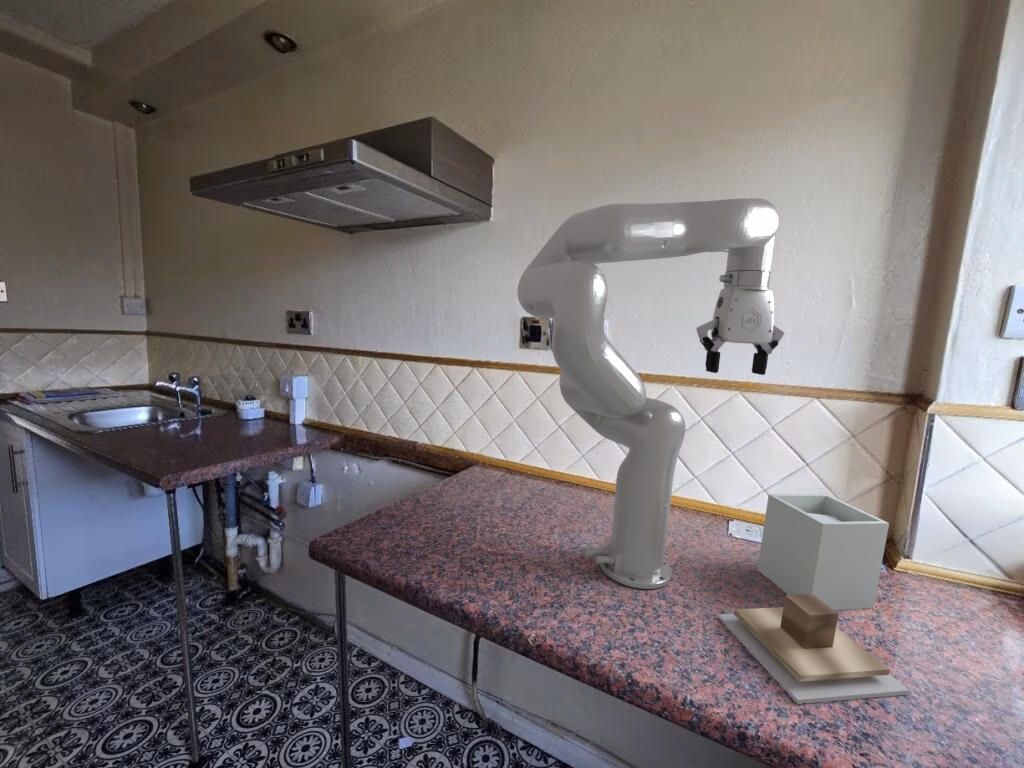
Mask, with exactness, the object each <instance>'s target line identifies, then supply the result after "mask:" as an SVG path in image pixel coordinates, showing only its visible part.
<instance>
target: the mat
mask: <svg viewBox="0 0 1024 768" xmlns="http://www.w3.org/2000/svg"><path fill="white" fill-rule="evenodd" d="M717 618H719V619H720V620H721V621H722V622H723V623H722V622H721V621H720V620H719V621H720V622H721V623H722V624H723V625H724V624H725V625H724V626H725V627H726V629H727V630H728V631H729V630H730V631H731V632H730V631H729V632H730V633H731V634H732V633H733V634H732V635H733V636H734V635H735V636H734V637H735V638H736V639H737V641H739V643H740V642H741V643H742V644H743V645H744V646H745V647H746V648H745V647H744V646H743V645H742V644H741V643H740V644H741V645H742V646H743V647H744V648H745V649H746V650H747V649H748V650H747V652H749V654H750V655H751V654H752V655H753V656H754V657H755V658H756V659H757V660H758V661H759V662H760V663H759V662H758V661H757V660H756V659H755V658H754V657H753V656H752V655H751V656H752V657H753V658H754V659H755V660H756V661H757V662H758V663H759V664H760V665H761V664H762V665H761V667H762V666H763V667H764V668H765V669H766V670H767V671H768V672H767V671H766V670H765V669H764V668H763V667H762V668H763V669H764V670H765V671H766V672H767V673H768V674H769V673H770V674H769V675H770V676H771V675H772V676H771V678H772V679H773V678H774V679H775V680H776V681H777V682H778V683H779V684H778V683H777V682H776V681H775V680H774V679H773V680H774V681H775V682H776V683H777V684H778V685H779V686H780V688H781V689H782V690H783V691H784V690H785V691H786V692H787V693H788V694H789V695H788V694H787V693H786V692H785V691H784V692H785V693H786V694H787V695H788V696H789V697H790V698H791V699H792V700H793V702H794V703H795V702H796V703H797V704H796V705H804V704H803V703H806V704H816V703H826V702H839V701H849V700H861V699H872V698H874V699H875V698H882V697H883V698H885V697H893V696H894V697H897V696H908V695H909V694H910V689H909V688H907V687H906V686H905V685H904V684H902V683H901V682H900V681H899V680H898V679H896V678H895V677H894V676H893V675H891V674H890V673H889V675H881V676H868V677H855V678H842V679H829V680H816V681H803V682H799V681H798V680H797V679H796V678H795V677H794V676H793V674H792V673H791V672H790V671H789V670H788V669H787V668H786V667H785V666H784V665H783V664H782V663H781V662H780V661H779V660H778V659H777V658H776V657H775V656H774V655H773V654H772V653H771V652H770V651H769V650H768V649H767V648H766V647H765V646H764V645H763V644H762V643H761V642H760V641H759V640H758V639H757V638H756V637H755V636H754V635H753V634H752V632H751V631H750V630H749V629H748V628H747V627H746V626H745V625H744V624H743V623H742V622H741V621H740V620H739V619H738V618H737V617H736V616H735V615H734V613H724V614H723V613H722V614H721V613H720V614H718V615H717Z"/></svg>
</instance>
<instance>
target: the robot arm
mask: <svg viewBox="0 0 1024 768" xmlns="http://www.w3.org/2000/svg"><path fill="white" fill-rule="evenodd" d="M779 225H780V217H779V213H778V210H777V208H776V206H775V205H774V204H773V203H772V202H770V201H769V200H767V199H764V198H729V199H727V198H726V199H717V200H716V199H715V200H703V201H702V200H701V201H700V200H698V201H684V202H683V201H682V202H681V201H680V202H670V203H669V202H668V203H666V202H665V203H662V202H661V203H660V202H659V203H612V204H606V205H601V206H597V207H594V208H591V209H587V210H584V211H580V212H578V213H574V214H573V215H571V216H570V217H568V218H567V219H566V220H565V221H564V222H563V223H562V224H561V225H560V226H559V227H558V228H557V229H556V231H554V233H553V234H552V235H551V237H550V238H549V239H548V240H547V242H546V243H545V244H544V245H543V247H542V248H541V249H540V250H539V252H538V253H537V254H536V256H535V257H534V258H533V259H532V260H531V262H530V263H529V264H528V265H527V267H526V268H525V270H524V271H523V273H522V275H520V278H519V281H518V285H517V299H518V302H519V304H520V306H521V308H522V309H523V310H524V311H525V312H526V313H528V315H531V316H533V317H535V318H540V319H553V322H552V337H551V340H552V342H551V347H552V348H551V349H552V357H553V358H554V360H555V362H556V364H557V366H558V368H559V369H560V370H561V372H560V375H559V380H558V381H559V382H558V383H559V384H558V385H559V390H560V394H561V396H562V398H563V400H564V401H565V403H566V404H567V405H568V406H569V407H570V408H571V410H573V411H574V412H575V413H576V414H577V415H578V416H579V417H580V418H581V419H582V420H583V421H585V423H587V425H588V426H590V427H591V428H592V429H593V430H594V431H595V432H596V433H597V434H599V435H600V436H602V437H603V438H605V439H607V440H609V441H611V442H614V443H617V444H619V445H622V446H623V447H625V448H628V453H627V455H626V456H625V457H624V459H623V460H622V462H621V463H620V465H619V467H618V470H617V474H616V482H615V493H614V503H613V515H612V524H611V525H612V526H611V533H610V539H605V541H604V542H605V543H604V544H601V545H599V546H598V547H596V546H585V547H584V549H583V554H584V558H585V559H594V561H595V564H596V565H599V566H600V568H601V570H602V571H603V572H604V574H605V575H606V576H608V577H609V578H610V579H612V580H613V581H615V582H618V583H619V584H621V585H624V586H627V587H631V588H634V589H644V590H655V589H658V588H659V589H660V588H662V587H665V586H666V585H668V584H669V583H670V582H671V579H672V572H673V571H672V567H671V566H670V565H669V563H668V562H666V560H665V554H666V552H665V551H666V545H667V536H668V526H669V518H670V510H671V500H672V491H673V482H674V476H675V472H676V471H675V470H676V466H677V461H678V456H679V454H680V451H681V448H682V446H683V442H684V439H685V435H686V427H687V426H686V422H685V418H684V417H683V415H682V412H680V411H679V409H677V408H676V407H674V406H673V405H671V404H670V403H668V402H666V401H661V400H658V399H655V398H650V397H647V390H646V387H645V384H644V381H643V380H642V378H641V376H640V375H639V374H638V373H637V372H636V370H635V369H634V368H633V367H632V366H631V365H630V364H629V362H628V361H627V360H626V359H625V357H623V355H622V354H621V353H620V352H619V351H618V350H617V349H616V348H615V346H614V345H613V344H612V342H611V341H610V340H609V338H608V337H607V335H606V332H605V326H604V323H605V322H604V321H605V312H606V307H607V302H608V295H609V294H608V283H607V279H606V277H605V275H604V273H603V271H602V270H601V269H600V267H598V264H607V263H620V262H633V261H641V260H642V261H646V260H657V259H658V260H659V259H670V258H679V257H686V256H691V255H698V254H702V253H707V252H708V253H720V252H721V253H723V252H724V253H727V260H726V266H725V267H726V269H725V272H724V274H720V276H719V278H718V280H719V282H720V283H723V288H722V289H720V291H719V294H718V297H717V301H716V302H715V303H716V304H715V308H714V311H713V316H712V319H711V320H710V321H708V322H705V323H703V324H701V325H699V326H697V327H696V332H697V335H698V338H699V342H700V344H701V345H702V346H703V348H704V350H705V351H706V358H705V371H706V372H709V373H713V374H717V373H719V368H720V361H721V352H720V351H718V350H720V348H721V347H722V346H723V345H724V344H726V342H727V343H732V344H733V343H734V344H752V345H753V347H754V348H755V350H756V352H753V359H752V366H751V373H752V374H755V375H756V374H757V375H762V376H765V374H766V371H767V366H768V360H769V355H771V354H772V353H773V350H775V349H776V348H777V347H778V345H779V342H780V341H782V340H781V339H782V338H783V337H784V334H785V332H784V331H783V330H782V329H780V328H778V327H777V326H775V325H774V319H775V314H774V313H775V304H774V295H773V291H772V290H769V287H770V280H771V272H772V265H773V259H774V258H773V257H774V250H775V249H774V248H775V244H776V243H775V242H776V234H777V232H778V228H779ZM709 331H710V332H711V333H710V335H711V338H710V337H709V334H708V332H709Z"/></svg>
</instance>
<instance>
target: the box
mask: <svg viewBox="0 0 1024 768" xmlns="http://www.w3.org/2000/svg"><path fill="white" fill-rule="evenodd" d="M808 513H813V514H821V515H829V516H835V517H836V518H838V519H839V520H840V521H841V522H823V521H821V520H819V519H817V518H815V517H814V516H812V515H810V514H808ZM889 527H890V523H889V522H887V521H885V520H883V519H881V518H879V517H877V516H875V515H872V514H870V513H868V512H866V511H863V510H862V509H859V508H857V507H855V506H853V505H851V504H849V503H847V502H844V501H843V500H841V499H838V498H837V497H834V496H831V495H829V494H827V493H821V494H820V493H815V494H814V493H798V494H797V493H793V494H792V493H787V494H785V493H783V494H782V493H780V494H777V493H775V494H772V493H771V494H768V497H767V503H766V511H765V517H764V523H763V531H762V537H761V545H760V551H759V557H758V565H757V572H759V573H760V572H761V573H762V574H761V573H760V574H761V575H762V576H763V577H765V578H766V577H767V578H766V579H768V580H769V579H770V580H771V581H772V582H771V581H770V580H769V581H770V582H771V583H772V584H774V583H775V584H776V585H777V586H776V587H777V588H779V589H780V588H781V589H782V592H784V593H785V594H786V595H802V594H813V595H814V596H816V597H817V598H818V599H820V600H821V601H822V602H824V603H825V604H826V605H828V606H829V607H830V608H832V609H833V610H834V611H845V610H846V611H849V610H864V609H865V610H866V609H867V610H869V609H874V606H875V600H876V596H877V590H878V586H879V579H880V576H881V575H880V574H881V569H882V563H883V560H884V559H883V558H884V553H885V548H886V543H887V538H888V532H889ZM775 584H774V585H775ZM781 589H780V590H781Z"/></svg>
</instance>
